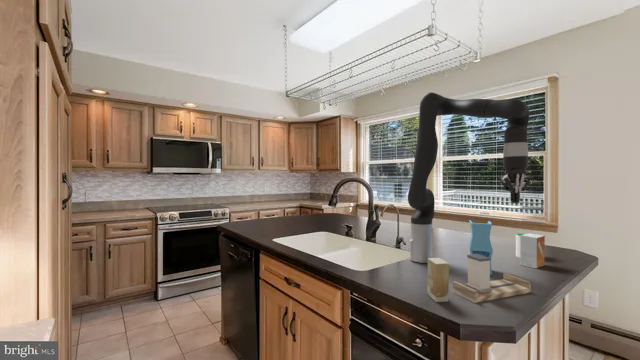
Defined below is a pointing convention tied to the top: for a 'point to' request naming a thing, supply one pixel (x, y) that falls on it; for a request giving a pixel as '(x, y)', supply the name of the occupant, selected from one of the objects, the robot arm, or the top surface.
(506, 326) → the top surface
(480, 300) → the fader track
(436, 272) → the skincare box
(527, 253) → the small box
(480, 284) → the fader knob
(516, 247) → the mug
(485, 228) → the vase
